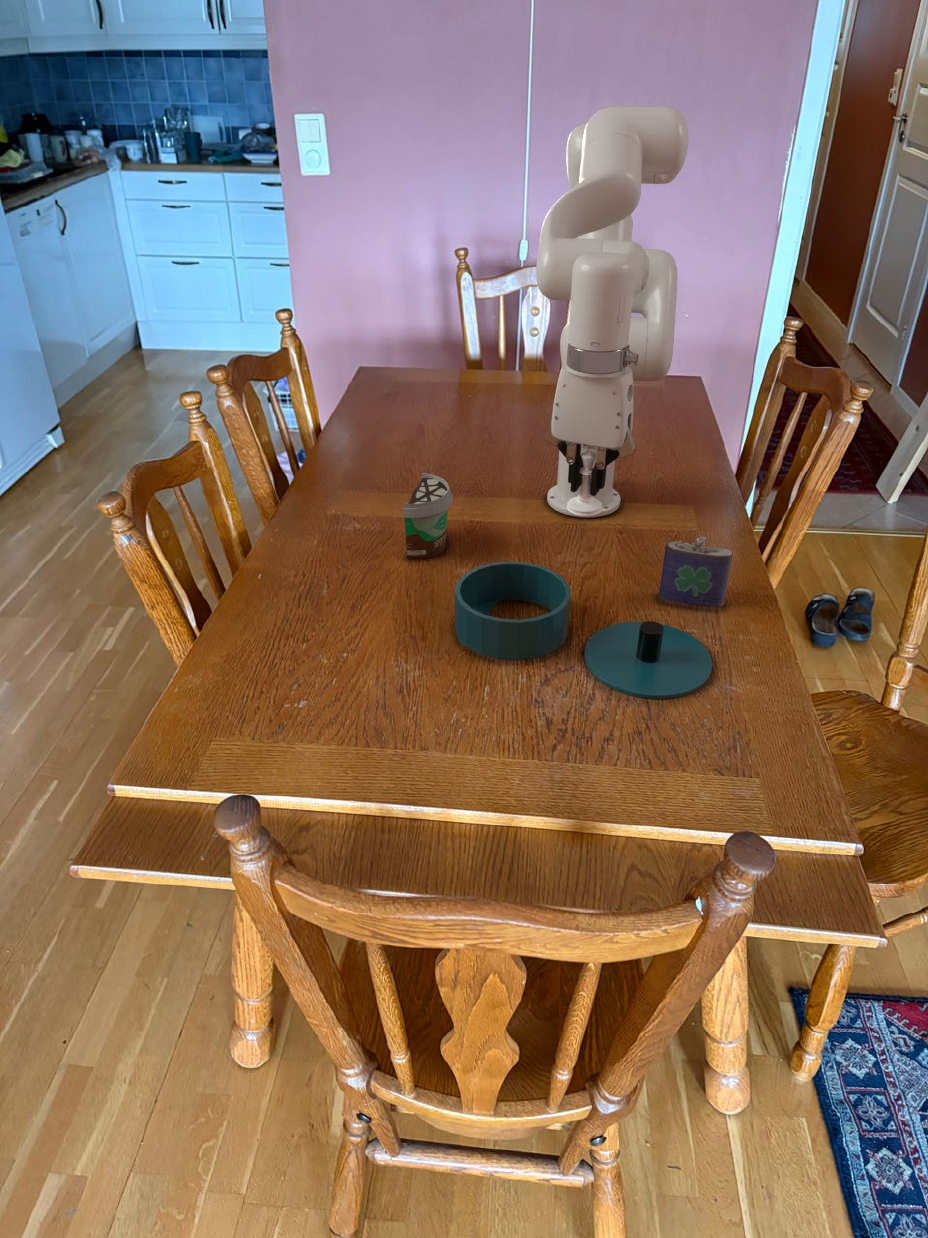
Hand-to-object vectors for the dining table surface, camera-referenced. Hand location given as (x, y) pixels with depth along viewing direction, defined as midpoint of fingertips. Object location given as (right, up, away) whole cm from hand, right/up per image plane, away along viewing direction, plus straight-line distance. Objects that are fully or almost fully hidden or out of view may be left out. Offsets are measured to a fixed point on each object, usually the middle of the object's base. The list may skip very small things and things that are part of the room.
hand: (585, 489), depth 126 cm
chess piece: (0, -3, +2) cm, 3 cm away
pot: (-10, -19, 0) cm, 22 cm away
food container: (-22, -7, +20) cm, 30 cm away
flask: (+16, -16, +6) cm, 23 cm away
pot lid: (+7, -23, -7) cm, 25 cm away
